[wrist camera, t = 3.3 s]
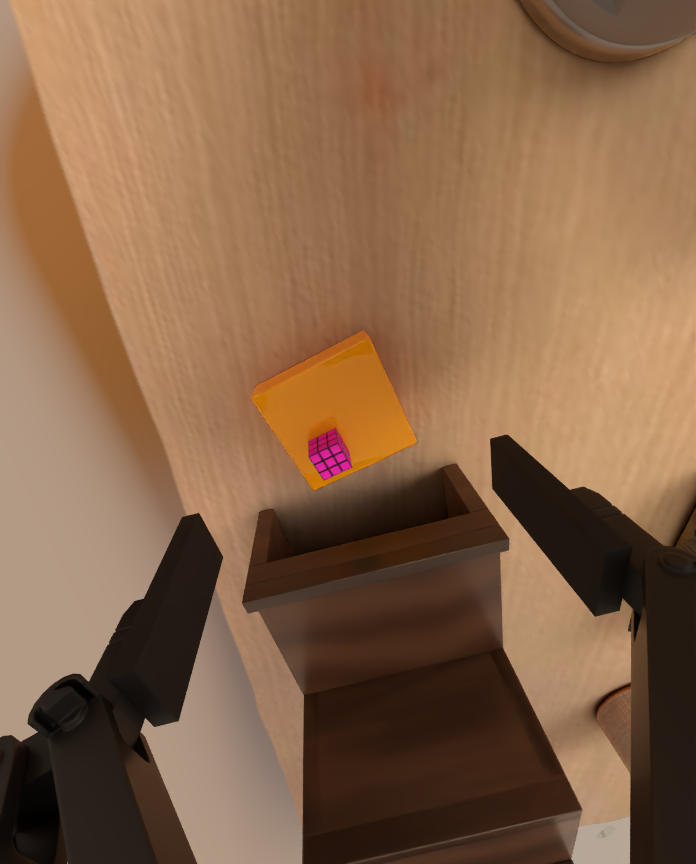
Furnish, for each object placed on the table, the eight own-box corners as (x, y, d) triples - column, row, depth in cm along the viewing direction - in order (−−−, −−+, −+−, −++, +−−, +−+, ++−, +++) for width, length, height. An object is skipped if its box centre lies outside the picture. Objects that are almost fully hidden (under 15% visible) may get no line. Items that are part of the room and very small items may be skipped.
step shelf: (259, 511, 28) (172, 964, 10) (456, 463, 28) (721, 838, 10) (329, 671, 39) (348, 1030, 21) (473, 637, 38) (615, 970, 21)
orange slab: (254, 385, 23) (244, 411, 20) (364, 329, 22) (375, 344, 19) (313, 474, 27) (314, 510, 23) (409, 428, 26) (426, 458, 22)
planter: (688, 683, 48) (770, 776, 39) (632, 725, 52) (695, 818, 44) (631, 673, 45) (707, 770, 37) (577, 718, 49) (633, 815, 41)
